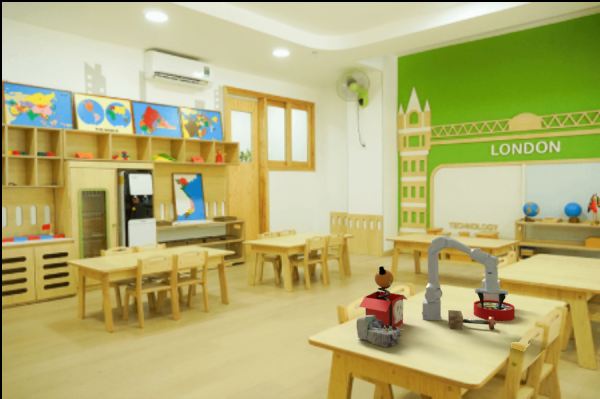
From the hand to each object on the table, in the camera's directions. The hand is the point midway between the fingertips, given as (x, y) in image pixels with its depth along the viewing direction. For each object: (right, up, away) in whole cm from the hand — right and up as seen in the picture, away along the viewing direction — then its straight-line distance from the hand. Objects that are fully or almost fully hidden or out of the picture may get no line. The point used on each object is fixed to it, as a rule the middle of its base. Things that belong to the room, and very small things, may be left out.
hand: (491, 308), depth 211 cm
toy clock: (+11, -10, +21) cm, 26 cm away
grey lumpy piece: (-57, -11, -15) cm, 60 cm away
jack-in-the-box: (-50, -10, +8) cm, 52 cm away
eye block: (-16, -10, +4) cm, 19 cm away
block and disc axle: (-5, -10, +2) cm, 11 cm away
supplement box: (+17, -9, +39) cm, 44 cm away
